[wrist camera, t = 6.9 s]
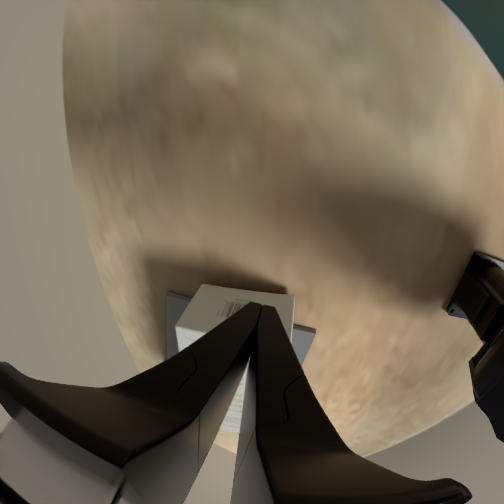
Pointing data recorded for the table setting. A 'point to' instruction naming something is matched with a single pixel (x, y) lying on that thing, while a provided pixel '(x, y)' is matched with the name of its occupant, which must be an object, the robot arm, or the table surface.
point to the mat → (179, 303)
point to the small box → (216, 311)
